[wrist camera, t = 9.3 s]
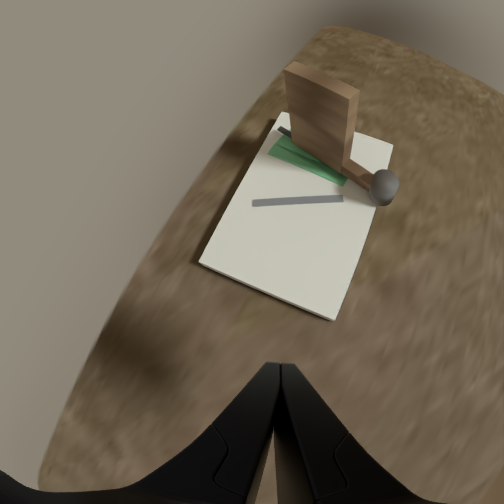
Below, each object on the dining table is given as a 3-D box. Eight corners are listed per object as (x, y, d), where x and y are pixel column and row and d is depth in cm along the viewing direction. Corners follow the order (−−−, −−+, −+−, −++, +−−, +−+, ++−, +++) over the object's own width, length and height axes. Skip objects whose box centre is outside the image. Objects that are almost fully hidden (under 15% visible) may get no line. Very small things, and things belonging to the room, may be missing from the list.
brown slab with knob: (397, 193, 21) (427, 125, 14) (384, 210, 21) (413, 143, 13) (286, 122, 25) (276, 50, 18) (271, 135, 25) (257, 63, 17)
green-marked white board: (391, 151, 24) (393, 144, 23) (333, 321, 20) (335, 320, 19) (282, 118, 27) (281, 111, 26) (202, 265, 24) (198, 261, 23)
